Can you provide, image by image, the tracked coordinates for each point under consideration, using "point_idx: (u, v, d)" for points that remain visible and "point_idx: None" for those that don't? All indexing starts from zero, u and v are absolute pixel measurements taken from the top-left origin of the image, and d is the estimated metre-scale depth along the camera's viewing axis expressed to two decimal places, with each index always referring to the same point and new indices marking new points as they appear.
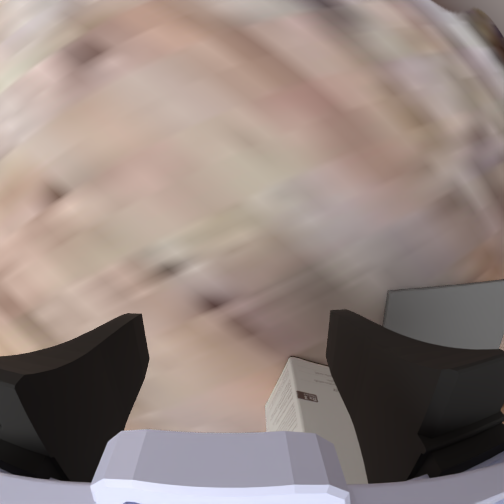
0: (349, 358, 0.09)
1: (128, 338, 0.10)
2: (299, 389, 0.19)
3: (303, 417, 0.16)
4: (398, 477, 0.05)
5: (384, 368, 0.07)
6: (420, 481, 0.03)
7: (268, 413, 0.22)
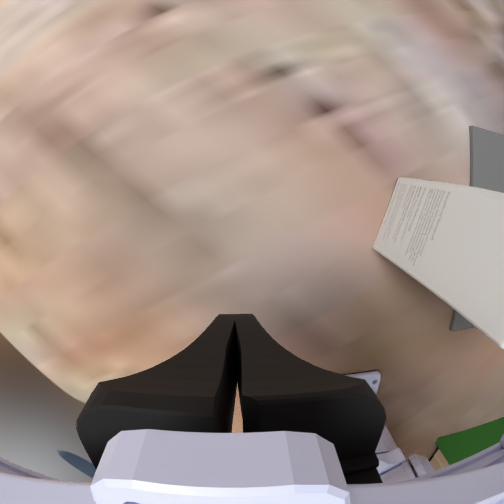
0: (239, 365, 0.09)
1: (233, 340, 0.10)
2: (428, 181, 0.17)
3: (453, 184, 0.14)
4: None
5: None
6: (420, 481, 0.03)
7: (385, 243, 0.20)
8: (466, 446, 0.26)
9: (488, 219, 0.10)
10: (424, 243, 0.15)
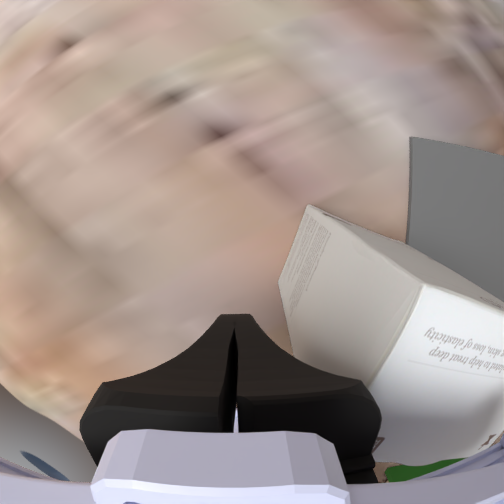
0: (236, 365, 0.09)
1: None
2: (325, 213, 0.16)
3: (338, 222, 0.13)
4: None
5: None
6: (420, 481, 0.03)
7: (283, 280, 0.19)
8: None
9: (347, 282, 0.10)
10: (301, 292, 0.14)
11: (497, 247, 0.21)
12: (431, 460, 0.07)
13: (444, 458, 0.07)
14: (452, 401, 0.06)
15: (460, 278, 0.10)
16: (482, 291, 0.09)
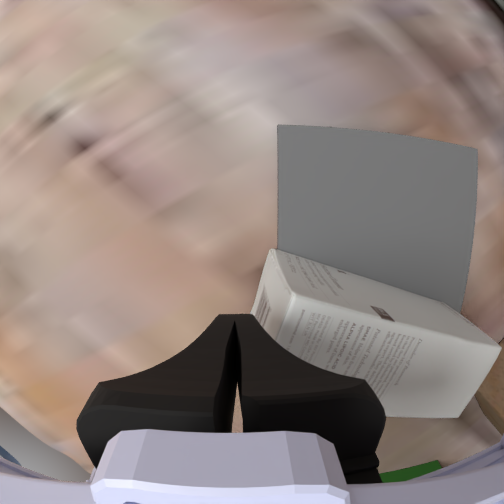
0: (239, 365, 0.09)
1: (233, 340, 0.10)
2: (375, 314, 0.13)
3: (422, 327, 0.13)
4: None
5: None
6: (420, 481, 0.03)
7: None
8: None
9: (458, 362, 0.14)
10: (384, 388, 0.14)
11: (415, 248, 0.20)
12: None
13: None
14: None
15: (422, 303, 0.18)
16: (435, 306, 0.18)
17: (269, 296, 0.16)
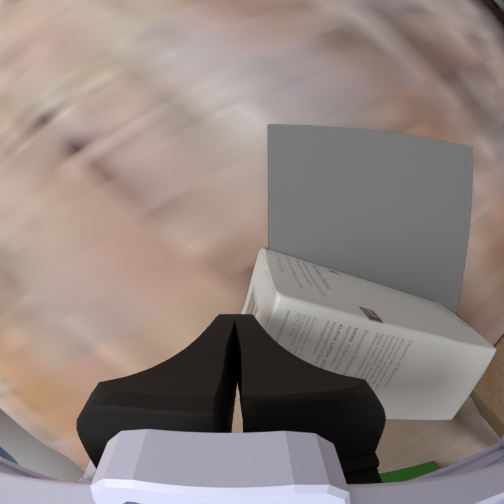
0: (239, 365, 0.09)
1: (233, 340, 0.10)
2: (363, 315, 0.13)
3: (412, 328, 0.13)
4: None
5: None
6: (420, 481, 0.03)
7: None
8: None
9: (451, 364, 0.14)
10: (374, 390, 0.14)
11: (408, 248, 0.20)
12: None
13: None
14: None
15: (415, 303, 0.18)
16: (428, 306, 0.18)
17: (257, 296, 0.16)
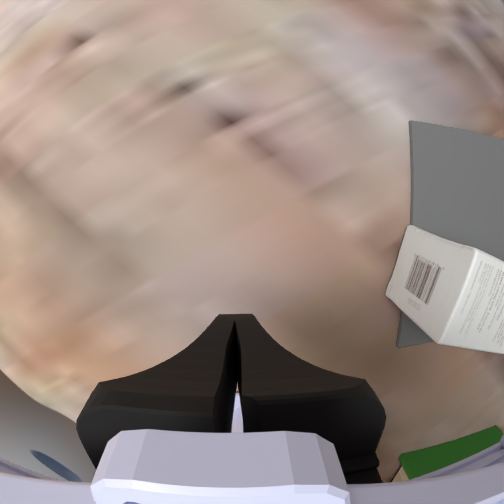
0: (239, 365, 0.09)
1: (233, 340, 0.10)
2: None
3: None
4: None
5: None
6: (420, 481, 0.03)
7: (464, 335, 0.14)
8: (431, 464, 0.25)
9: None
10: None
11: (498, 226, 0.21)
12: None
13: None
14: None
15: None
16: None
17: (433, 259, 0.17)
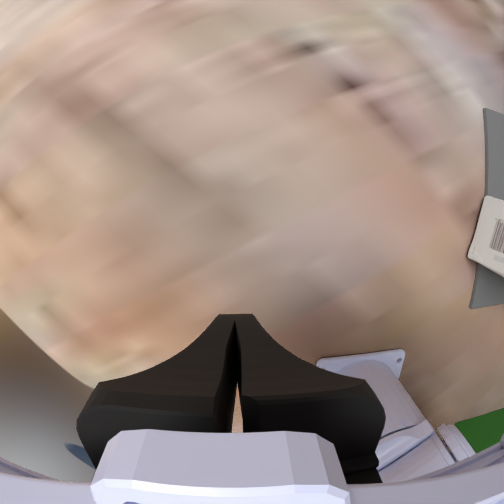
0: (239, 365, 0.09)
1: (233, 340, 0.10)
2: None
3: None
4: None
5: None
6: (420, 481, 0.03)
7: None
8: (483, 430, 0.25)
9: None
10: None
11: None
12: None
13: None
14: None
15: None
16: None
17: None
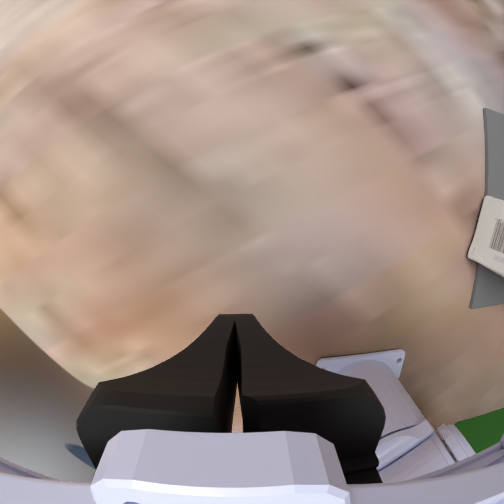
0: (239, 365, 0.09)
1: (233, 340, 0.10)
2: None
3: None
4: None
5: None
6: (420, 481, 0.03)
7: None
8: (483, 430, 0.25)
9: None
10: None
11: None
12: None
13: None
14: None
15: None
16: None
17: None
